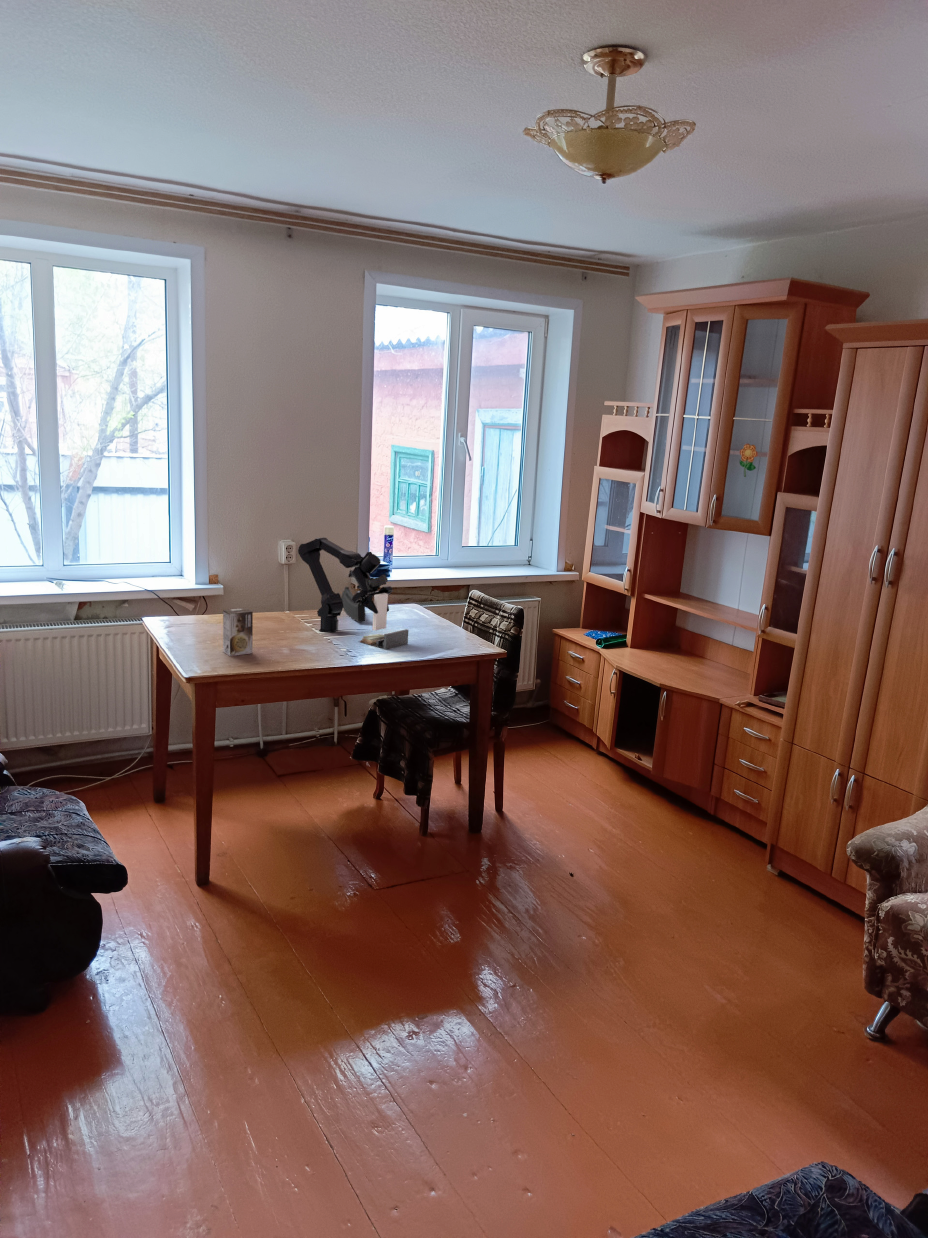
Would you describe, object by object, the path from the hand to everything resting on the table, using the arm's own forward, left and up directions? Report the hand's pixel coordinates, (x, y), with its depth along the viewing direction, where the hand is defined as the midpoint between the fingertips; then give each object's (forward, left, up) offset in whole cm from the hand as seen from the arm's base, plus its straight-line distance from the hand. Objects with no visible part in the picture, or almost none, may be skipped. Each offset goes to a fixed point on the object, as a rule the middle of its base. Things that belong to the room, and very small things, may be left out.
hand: (382, 612), depth 345 cm
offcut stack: (-3, +2, -12) cm, 13 cm away
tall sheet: (-1, +1, -7) cm, 7 cm away
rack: (+1, 0, -13) cm, 13 cm away
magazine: (-24, +44, -14) cm, 52 cm away
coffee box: (-47, -32, -14) cm, 58 cm away
